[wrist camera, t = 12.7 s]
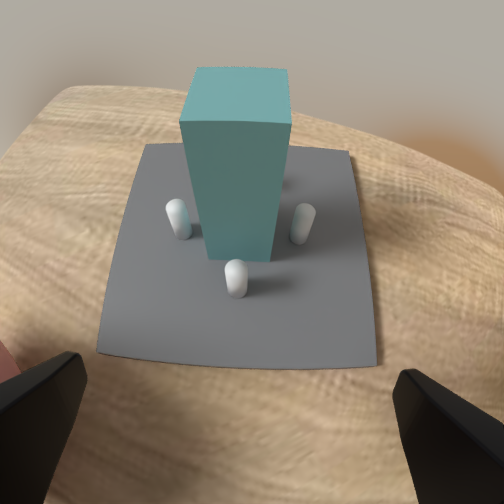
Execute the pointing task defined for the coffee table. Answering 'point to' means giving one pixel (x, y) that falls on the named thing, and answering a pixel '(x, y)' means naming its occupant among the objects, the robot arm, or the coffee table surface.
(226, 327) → the peg plate
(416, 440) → the robot arm
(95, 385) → the coffee table surface
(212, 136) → the teal block
